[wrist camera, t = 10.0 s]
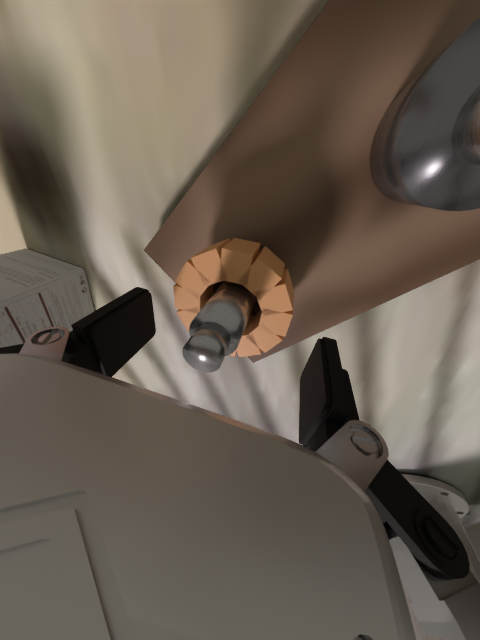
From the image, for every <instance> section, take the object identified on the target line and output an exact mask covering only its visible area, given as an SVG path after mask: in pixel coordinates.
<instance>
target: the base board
mask: <svg viewBox="0 0 480 640" xmlns="http://www.w3.org/2000/svg"><path fill="white" fill-rule="evenodd" d="M479 17H480V0H329V2H328V3H327V4H326V6H325V7H324V8H323V10H322V11H321V12H320V14H319V15H318V16H317V18H316V19H315V21H314V22H313V23H312V25H311V26H310V27H309V29H308V30H307V31H306V33H305V34H304V35H303V37H302V38H301V39H300V41H299V42H298V43H297V45H296V46H295V47H294V49H293V50H292V51H291V53H290V54H289V55H288V57H287V58H286V60H285V61H284V62H283V64H282V65H281V66H280V68H279V69H278V70H277V72H276V73H275V74H274V76H273V77H272V78H271V80H270V81H269V82H268V84H267V85H266V86H265V88H264V89H263V90H262V92H261V93H260V95H259V96H258V97H257V99H256V100H255V101H254V103H253V104H252V105H251V107H250V108H249V109H248V111H247V112H246V113H245V115H244V116H243V117H242V119H241V120H240V121H239V123H238V124H237V125H236V127H235V128H234V130H233V131H232V132H231V134H230V135H229V136H228V138H227V139H226V140H225V142H224V143H223V144H222V146H221V147H220V148H219V150H218V151H217V152H216V154H215V155H214V156H213V158H212V159H211V160H210V162H209V163H208V164H207V166H206V167H205V169H204V170H203V171H202V173H201V174H200V175H199V177H198V178H197V179H196V181H195V182H194V183H193V185H192V186H191V187H190V189H189V190H188V191H187V193H186V194H185V195H184V197H183V198H182V199H181V201H180V202H179V204H178V205H177V206H176V208H175V209H174V210H173V212H172V213H171V214H170V216H169V217H168V218H167V220H166V221H165V222H164V224H163V225H162V226H161V228H160V229H159V230H158V232H157V233H156V234H155V236H154V237H153V238H152V240H151V241H150V243H149V244H148V245H147V247H146V248H145V249H144V251H145V252H146V253H147V254H148V255H149V256H150V257H151V258H152V259H153V260H154V261H155V262H156V263H157V264H158V265H159V266H160V267H161V268H162V269H163V271H164V272H165V273H166V274H167V275H168V276H169V277H170V278H171V279H172V280H173V281H174V282H175V280H176V278H177V276H178V275H179V273H180V272H181V270H182V268H183V267H184V265H185V263H186V262H187V261H188V260H189V259H191V258H192V257H193V256H195V255H196V254H197V253H199V252H200V251H202V250H203V249H205V248H206V247H208V246H211V245H213V244H216V243H219V242H221V241H224V240H226V239H229V238H230V241H231V240H232V239H234V238H238V239H243V240H247V241H252V242H257V243H260V245H261V246H263V247H265V246H266V247H267V248H268V249H269V250H270V251H272V252H273V253H274V254H275V255H276V256H277V257H278V258H279V259H280V260H281V261H282V262H283V263H285V266H284V269H287V268H288V271H289V275H290V278H291V282H292V286H293V289H294V304H293V316H292V319H291V322H290V325H289V328H288V330H287V333H286V336H285V337H284V336H283V340H282V341H281V342H280V343H278V344H277V345H275V346H274V347H273V348H271V349H270V350H268V351H267V352H266V353H265V352H263V351H262V353H261V354H260V355H252V356H247V357H248V358H249V359H250V360H251V361H252V362H253V363H254V362H256V361H258V360H260V359H263V358H265V357H267V356H269V355H271V354H273V353H276V352H278V351H280V350H282V349H284V348H287V347H289V346H291V345H293V344H295V343H297V342H300V341H302V340H304V339H306V338H308V337H311V336H313V335H315V334H317V333H319V332H321V331H324V330H326V329H328V328H330V327H332V326H335V325H337V324H339V323H341V322H343V321H346V320H348V319H350V318H352V317H354V316H356V315H359V314H361V313H363V312H365V311H367V310H370V309H372V308H374V307H376V306H378V305H380V304H383V303H385V302H387V301H389V300H391V299H394V298H396V297H398V296H400V295H402V294H404V293H407V292H409V291H411V290H413V289H415V288H418V287H420V286H422V285H424V284H426V283H428V282H431V281H433V280H435V279H437V278H439V277H442V276H444V275H446V274H448V273H450V272H452V271H455V270H457V269H459V268H461V267H463V266H466V265H468V264H470V263H472V262H474V261H477V260H479V259H480V208H479V209H474V210H467V211H444V210H438V209H433V208H427V207H422V206H417V205H412V204H406V203H401V202H397V201H394V200H391V199H389V198H387V197H386V196H384V195H383V194H382V193H381V192H380V191H379V190H378V189H377V187H376V185H375V184H374V182H373V179H372V176H371V172H370V151H371V146H372V142H373V138H374V135H375V132H376V130H377V127H378V125H379V123H380V121H381V119H382V117H383V115H384V114H385V112H386V110H387V109H388V107H389V106H390V104H391V103H392V102H393V100H394V99H395V98H396V96H397V95H398V94H399V93H400V92H401V91H402V89H403V88H404V87H405V86H406V85H407V84H408V83H409V82H410V81H411V80H412V79H414V78H415V77H416V76H417V75H418V74H419V73H420V72H421V71H422V70H423V69H424V68H425V67H426V66H427V65H428V64H430V63H431V62H432V61H433V60H434V59H435V58H436V57H437V56H438V55H439V54H440V53H441V52H442V51H443V50H445V49H446V48H447V47H448V46H449V45H450V44H451V43H452V42H453V41H454V40H455V39H456V38H457V37H458V36H459V35H461V34H462V33H463V32H464V31H465V30H466V29H467V28H468V27H469V26H470V25H471V24H472V23H473V22H474V21H476V20H477V19H478V18H479ZM175 283H176V282H175Z"/></svg>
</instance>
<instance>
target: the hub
mask: <svg viewBox="0 0 480 640" xmlns="http://www.w3.org/2000/svg"><path fill="white" fill-rule="evenodd" d="M263 248H264V247H263V246H261V245H260V249H259V252H260V251H261V250H262V249H263ZM260 310H261V308H260V305H259V303H258V300H257V297H256V296H255V295H254V294H253V293H251V292H250V291H249V290H248V289H247V288H246V287H244V286H243V285H242V284H237V283H233V282H229V281H225V280H224V281H221V282H217V283H214V288H213V295H212V297H211V298H210V299H209V300H208V302H207V303H206V304H205V305H204V307H203V308H202V309H201V310H200V312H199V313H198V314H197V315H196V317H195V318H194V319H193V321H192V322H191V324H190V327H189V333H190V336H191V337H190V339H189V340H188V342H187V343H186V344H185V346H184V347H183V356H184V358H185V360H186V361H187V363H188V364H189V365H191V366H192V367H193V368H195V369H197V370H199V371H203V372H214V371H216V370H218V369H219V368H220V366H221V364H222V361H223V359H224V357H225V356H227V355H230V354H232V353H233V352H234V351H235V350H236V349H237V347H238V345H239V342H240V340H241V337H242V335H243V332H244V329H245V327H246V324H247V322H248V319H249V317H250V316H253V315H256V314H257V313H258V312H259V311H260Z"/></svg>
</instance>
